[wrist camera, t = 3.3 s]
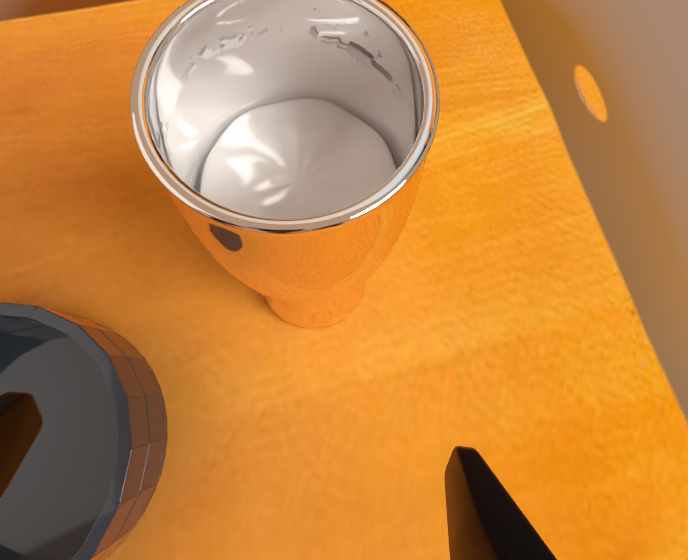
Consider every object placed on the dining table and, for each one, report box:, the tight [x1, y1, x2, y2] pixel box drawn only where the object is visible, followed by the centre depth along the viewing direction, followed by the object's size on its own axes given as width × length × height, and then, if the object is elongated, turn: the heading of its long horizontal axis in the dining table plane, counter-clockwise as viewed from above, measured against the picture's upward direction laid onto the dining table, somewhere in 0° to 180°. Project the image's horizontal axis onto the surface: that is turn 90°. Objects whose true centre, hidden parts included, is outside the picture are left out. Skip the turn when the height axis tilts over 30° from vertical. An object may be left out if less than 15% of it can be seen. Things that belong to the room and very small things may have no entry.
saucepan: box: [0, 302, 167, 560], centre depth 18 cm, size 13×13×4 cm
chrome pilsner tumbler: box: [130, 0, 440, 328], centre depth 16 cm, size 7×7×15 cm
